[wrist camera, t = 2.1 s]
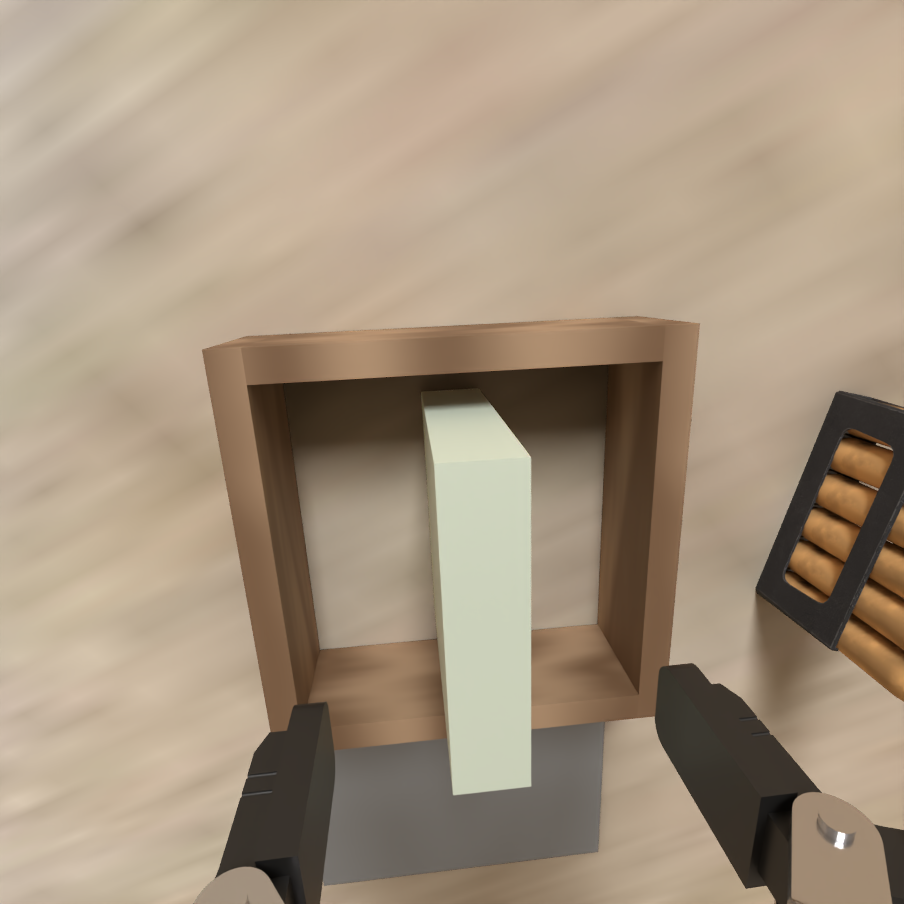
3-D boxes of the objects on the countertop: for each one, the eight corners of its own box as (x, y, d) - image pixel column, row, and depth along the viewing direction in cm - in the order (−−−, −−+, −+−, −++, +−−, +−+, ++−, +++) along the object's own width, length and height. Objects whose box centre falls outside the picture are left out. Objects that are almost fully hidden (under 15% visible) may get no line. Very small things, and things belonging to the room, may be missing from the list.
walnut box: (638, 316, 23) (699, 323, 18) (619, 641, 28) (664, 715, 23) (245, 336, 22) (201, 349, 17) (298, 672, 27) (275, 756, 22)
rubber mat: (605, 664, 28) (607, 668, 28) (596, 846, 32) (598, 851, 32) (295, 694, 27) (294, 699, 27) (324, 880, 31) (324, 885, 30)
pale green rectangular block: (478, 388, 23) (531, 457, 14) (485, 607, 27) (531, 786, 17) (420, 391, 23) (433, 463, 14) (434, 612, 26) (452, 795, 17)
